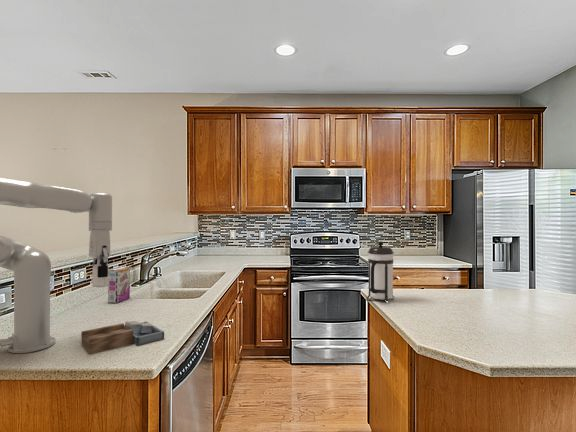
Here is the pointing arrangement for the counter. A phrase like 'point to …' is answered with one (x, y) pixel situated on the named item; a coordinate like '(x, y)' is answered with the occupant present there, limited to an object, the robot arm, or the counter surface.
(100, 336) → the slot block
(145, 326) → the chip
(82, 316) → the counter surface
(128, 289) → the candy bar box
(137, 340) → the tray
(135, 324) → the chip
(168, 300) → the counter surface
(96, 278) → the eye dropper bottle
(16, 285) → the robot arm
